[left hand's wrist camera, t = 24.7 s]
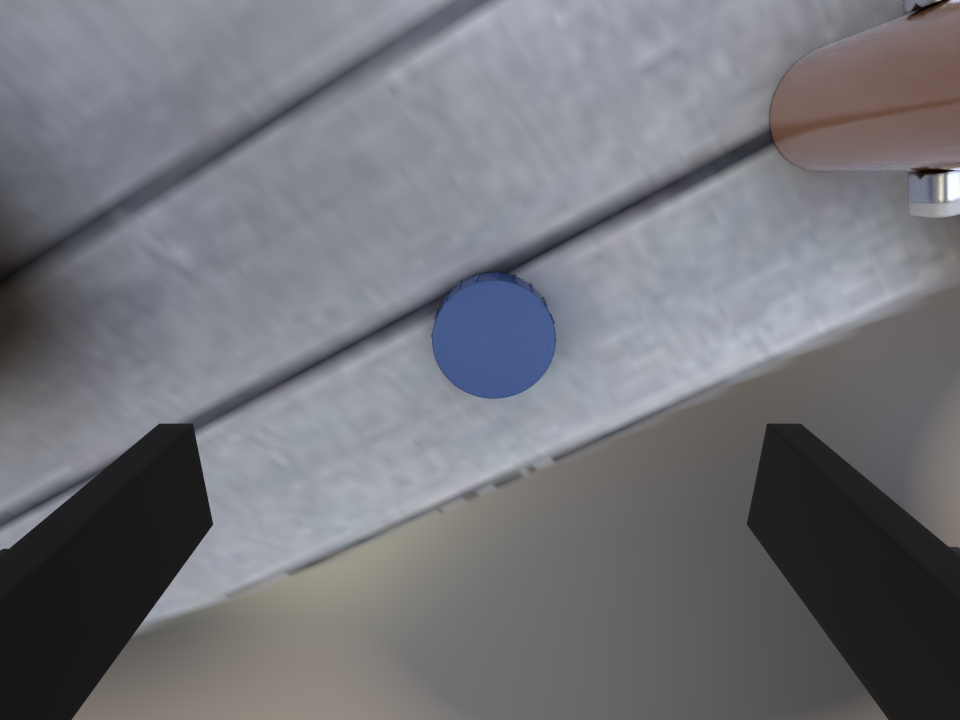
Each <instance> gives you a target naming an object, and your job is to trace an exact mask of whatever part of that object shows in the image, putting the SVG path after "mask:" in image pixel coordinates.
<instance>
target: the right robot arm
mask: <svg viewBox="0 0 960 720" xmlns="http://www.w3.org/2000/svg"><path fill="white" fill-rule="evenodd" d="M942 1H944V0H903V12H904V14H907V13H911V12H914V11H918V10H920V9H923V8H926V7H928V6H931V5H934V4H936V3H939V2H942ZM908 201H909V215H910V216H916V217H926V218H941V217H950V216H955V215H959V214H960V170H916V171H913V172H910V173H908Z"/></svg>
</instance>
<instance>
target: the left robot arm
mask: <svg viewBox="0 0 960 720" xmlns="http://www.w3.org/2000/svg"><path fill="white" fill-rule="evenodd" d="M212 525H213V522H212V517H211V512H210V507H209V502H208V497H207V492H206V487H205V482H204V477H203V472H202V467H201V462H200V457H199V452H198V447H197V442H196V437H195V432H194V427H193V424H158V425H157V426H156V427H155V428H154V429H152V430H151V431H150V432H149V433H148V434H146V435H145V436H144V437H143V438H142V439H140V440H139V441H138V442H137V443H136V444H134V445H133V446H132V447H131V448H130V449H128V450H127V451H126V452H125V453H124V454H122V455H121V456H120V457H119V458H118V459H116V460H115V461H114V462H113V463H112V464H110V465H109V466H108V467H107V468H106V469H104V470H103V471H102V472H101V473H100V474H98V475H97V476H96V477H95V478H94V479H92V480H91V481H90V482H89V483H88V484H86V485H85V486H84V487H83V488H82V489H80V490H79V491H78V492H77V493H76V494H74V495H73V496H72V497H71V498H70V499H68V500H67V501H66V502H65V503H64V504H62V505H61V506H60V507H59V508H58V509H56V510H55V511H54V512H53V513H52V514H50V515H49V516H48V517H47V518H46V519H44V520H43V521H42V522H41V523H40V524H38V525H37V526H36V527H35V528H34V529H32V530H31V531H30V532H29V533H28V534H26V535H25V536H24V537H23V538H22V539H20V540H19V541H18V542H17V543H16V544H14V545H13V546H12V547H11V548H10V549H2V550H0V720H72V718H73V717H74V715H75V714H76V713H77V711H78V710H79V709H80V707H81V706H82V704H83V703H84V702H85V700H86V699H87V697H88V696H89V695H90V693H91V692H92V691H93V689H94V688H95V686H96V685H97V684H98V682H99V681H100V680H101V678H102V677H103V675H104V674H105V673H106V671H107V670H108V669H109V667H110V666H111V664H112V663H113V662H114V660H115V659H116V658H117V656H118V655H119V653H120V652H121V651H122V649H123V648H124V647H125V645H126V644H127V642H128V641H129V640H130V638H131V637H132V636H133V634H134V633H135V631H136V630H137V629H138V627H139V626H140V624H141V623H142V622H143V620H144V619H145V618H146V616H147V615H148V613H149V612H150V611H151V609H152V608H153V607H154V605H155V604H156V602H157V601H158V600H159V598H160V597H161V596H162V594H163V593H164V591H165V590H166V589H167V587H168V586H169V585H170V583H171V582H172V580H173V579H174V578H175V576H176V575H177V573H178V572H179V571H180V569H181V568H182V567H183V565H184V564H185V562H186V561H187V560H188V558H189V557H190V556H191V554H192V553H193V551H194V550H195V549H196V547H197V546H198V545H199V543H200V542H201V540H202V539H203V538H204V536H205V535H206V534H207V532H208V531H209V529H210V528H211V527H212ZM747 525H748V527H749V528H750V529H751V531H752V532H753V533H754V535H755V536H756V538H757V539H758V540H759V542H760V543H761V545H762V546H763V547H764V549H765V550H766V551H767V553H768V554H769V556H770V557H771V558H772V560H773V561H774V562H775V564H776V565H777V567H778V568H779V569H780V571H781V572H782V573H783V575H784V576H785V578H786V579H787V580H788V582H789V583H790V584H791V586H792V587H793V589H794V590H795V591H796V593H797V594H798V596H799V597H800V598H801V600H802V601H803V602H804V604H805V605H806V607H807V608H808V609H809V611H810V612H811V613H812V615H813V616H814V618H815V619H816V620H817V622H818V623H819V624H820V626H821V627H822V629H823V630H824V631H825V633H826V634H827V636H828V637H829V638H830V640H831V641H832V642H833V644H834V645H835V647H836V648H837V649H838V651H839V652H840V653H841V655H842V656H843V658H844V659H845V660H846V662H847V663H848V664H849V666H850V667H851V669H852V670H853V671H854V673H855V674H856V675H857V677H858V678H859V680H860V681H861V682H862V684H863V685H864V686H865V688H866V689H867V691H868V692H869V693H870V695H871V696H872V698H873V699H874V700H875V702H876V703H877V704H878V706H879V707H880V709H881V710H882V711H883V713H884V714H885V715H886V717H887V718H888V720H960V548H958V547H948V546H947V545H946V544H944V543H943V542H942V541H941V540H939V539H938V538H937V537H936V536H935V535H934V534H932V533H931V532H930V531H929V530H928V529H926V528H925V527H924V526H923V525H922V524H920V523H919V522H918V521H917V520H916V519H914V518H913V517H912V516H911V515H910V514H908V513H907V512H906V511H905V510H904V509H902V508H901V507H900V506H899V505H898V504H896V503H895V502H894V501H893V500H892V499H890V498H889V497H888V496H887V495H886V494H884V493H883V492H882V491H881V490H880V489H878V488H877V487H876V486H875V485H873V484H872V483H871V482H870V481H869V480H868V479H866V478H865V477H864V476H863V475H862V474H860V473H859V472H858V471H857V470H856V469H854V468H853V467H852V466H851V465H850V464H848V463H847V462H846V461H845V460H844V459H842V458H841V457H840V456H839V455H838V454H836V453H835V452H834V451H833V450H832V449H830V448H829V447H828V446H827V445H826V444H824V443H823V442H822V441H821V440H820V439H818V438H817V437H816V436H815V435H814V434H812V433H811V432H810V431H809V430H807V429H806V428H805V427H804V426H803V425H802V424H767V427H766V432H765V437H764V442H763V447H762V452H761V457H760V462H759V467H758V472H757V477H756V482H755V487H754V492H753V497H752V502H751V507H750V512H749V517H748V522H747Z"/></svg>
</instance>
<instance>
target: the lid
mask: <svg viewBox="0 0 960 720" xmlns="http://www.w3.org/2000/svg"><path fill="white" fill-rule="evenodd" d="M434 319H436V321H435V324H434V328H433V333H432V335H431V337H432V345H433V352H434V355H435V359H436V361H437V363H438V366H439V367H440V369H441V371H442V372H443V373H444V375H445V376H446V377H447V378H448V379H449V380H450V381H451V382H452V383H453V384H454V385H455V386H457V387H458V388H459V389H461V390H463V391H465V392H467V393H469V394H472V395H475V396H478V397H483V398H505V397H509V396H513V395H516V394H519V393H521V392H523V391H525V390H526V389H528V388H529V387H531V386H532V385H533V384H535V383H536V382H537V381H538V380H539V379H540V378H541V377H542V376H543V374H544V373H545V371H546V370H547V368H548V367H549V365H550V363H551V360H552V357H553V354H554V350H555V342H556V338H555V329H554V324H555V322H554V320H553V317H552V315H551V313H549V311H548V309H547V304H546V301H545V299H544V297H541V296H540V295H539V293H538V292H537V291H536V290H535V289H534V288H533V286H532V284H531V283H530V285H529V284H528V283H527V282H525V281H523V280H522V279H520V278H517V277H516V275H513V276H512V275H509V274H504V273H497V271H495V273H483V274H478V273H476V275H475V276H473V277H470V278H468V279H466V280H464V281H460V282H459V284H458V285H457V286H456V287H455V288H454V289H453V290H451V291H450V293H449V294H448V293H447V294H446V296H445V298H444V301H443V303H442V305H441V307H440V309H438V310H437V313H436V315H435V318H434Z"/></svg>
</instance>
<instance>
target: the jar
mask: <svg viewBox="0 0 960 720" xmlns="http://www.w3.org/2000/svg"><path fill="white" fill-rule="evenodd" d="M770 128H771V134H772V137H773V140H774V142H775V144H776V146H777V148H778V150H779V151H780V153H781V154H782V155H783V156H784V157H785V158H786V159H787V160H788V161H790V162H791V163H792V164H794V165H796V166H798V167H801V168H804V169H808V170H817V171H863V170H960V0H944V1H942V2H939V3H936V4H934V5H931V6H928V7H926V8H923V9H920V10H918V11H915V12H913V13H910V14H907V15H905V16H902V17H899V18H897V19H894V20H891V21H889V22H886V23H883V24H881V25H878V26H875V27H873V28H870V29H867V30H865V31H862V32H860V33H857V34H854V35H852V36H849V37H846V38H844V39H841V40H838V41H836V42H833V43H830V44H828V45H825V46H822V47H820V48H817V49H815V50H813V51H811V52H809V53H808V54H806V55H805V56H803V57H802V58H801V59H800V60H798V61H797V62H796V63H795V64H794V65H793V66H792V67H791V68H790V69H789V71H788V72H787V73H786V75H785V76H784V77H783V79H782V80H781V82H780V84H779V86H778V88H777V90H776V92H775V95H774V98H773V101H772V105H771V111H770Z"/></svg>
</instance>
